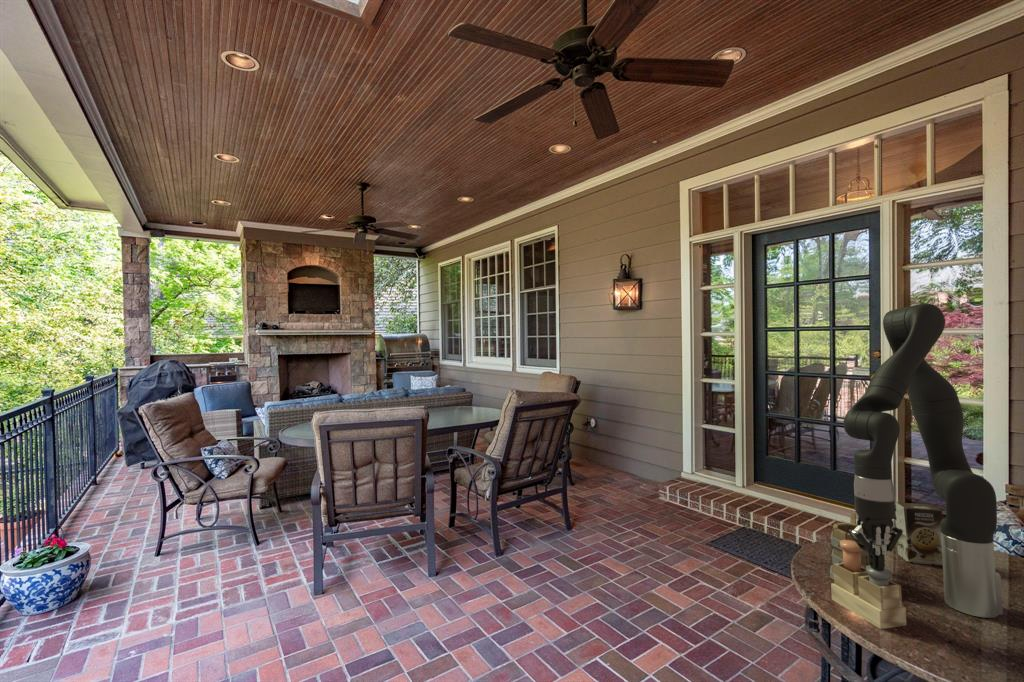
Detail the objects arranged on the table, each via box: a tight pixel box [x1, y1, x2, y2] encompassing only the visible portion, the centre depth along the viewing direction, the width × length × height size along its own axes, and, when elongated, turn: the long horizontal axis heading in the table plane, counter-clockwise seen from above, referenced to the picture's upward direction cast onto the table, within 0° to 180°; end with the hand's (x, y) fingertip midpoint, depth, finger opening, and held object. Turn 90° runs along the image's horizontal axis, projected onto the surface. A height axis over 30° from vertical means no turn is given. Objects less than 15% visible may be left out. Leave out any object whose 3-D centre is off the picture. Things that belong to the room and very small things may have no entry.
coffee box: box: [895, 501, 943, 566], centre depth 138 cm, size 9×6×16 cm
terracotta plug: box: [840, 540, 863, 573], centre depth 115 cm, size 5×5×7 cm
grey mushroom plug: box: [866, 565, 892, 587], centre depth 108 cm, size 5×5×7 cm
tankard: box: [829, 512, 873, 581], centre depth 129 cm, size 20×13×15 cm, turn 143°
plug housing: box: [830, 563, 907, 630], centre depth 111 cm, size 7×13×9 cm, turn 9°
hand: (877, 569), depth 108 cm, fingers closed
